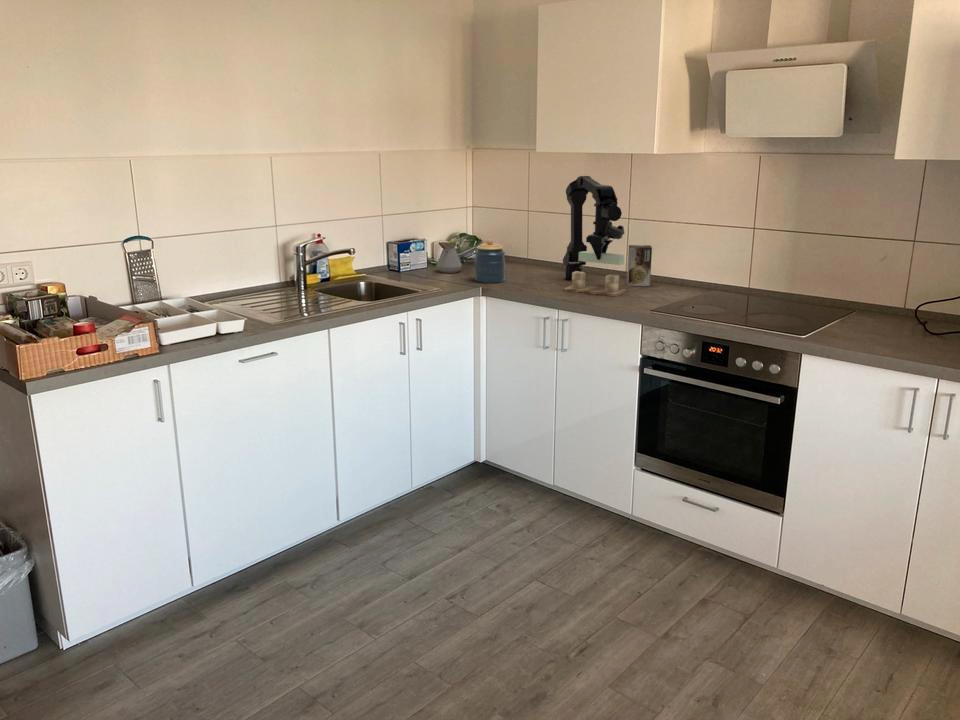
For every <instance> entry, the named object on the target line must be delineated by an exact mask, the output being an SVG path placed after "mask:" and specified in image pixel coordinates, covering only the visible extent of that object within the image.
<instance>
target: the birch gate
mask: <svg viewBox="0 0 960 720" xmlns="http://www.w3.org/2000/svg"><path fill="white" fill-rule="evenodd" d="M604 280H605V284H604V286H596V285H587V284H586V271H583V272H580V271H575V272H573V273H572V280H571V285H569V286H566V287H564V288H563V290H565V291H564V292H568V291H574V292H573V293H577V292H582V293H581V294H586V293H591V294H590V295H596V294H599V295H598V296H605V295H607V296H606V297H614V296H617V297H618V296H621V295H622V294H624V293H627V289H623V288H619V284H620V283H619V281H620V275H619V274H607V275H605V279H604Z"/></svg>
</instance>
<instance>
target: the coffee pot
mask: <svg viewBox="0 0 960 720" xmlns="http://www.w3.org/2000/svg"><path fill="white" fill-rule="evenodd" d="M437 245H439V247H440V248H442V250H441V252H440V253H441V254H440V256H439V258H438V260H437V263H436V268H437V270H438V271H439V272H440V273H443V274H454V273H455V274H456V273H458V272H459V271H460V270H461V269H462V266H463V264H462V262H461V260H460V257H459V255H458V253H457V250H456V245H457V242H438V243H437Z"/></svg>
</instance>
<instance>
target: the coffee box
mask: <svg viewBox="0 0 960 720" xmlns="http://www.w3.org/2000/svg"><path fill="white" fill-rule="evenodd" d="M627 254H628V255H627V257H628V258H627V272H626V273H627V274H626V285H627V286H628V287H650V286H651V275H652V274H651V272H652V257H653V256H652V255H653V247H652V245H650V244H649V245H647V244H641V245H640V244H629V245H628V253H627Z"/></svg>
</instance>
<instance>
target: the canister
mask: <svg viewBox="0 0 960 720" xmlns="http://www.w3.org/2000/svg"><path fill="white" fill-rule="evenodd" d="M503 249H504V246H502V245H501V244H500V243H496V242H495V243H494V240H493V239H492V238H488V239H486V242H485V243H480V244H479V245H477V246H476V251H475V252H474V255H475V259H474V281H475V282H478V283H483V284H497V283H502V282H505V278H506V274H505V271H506V268H505V267H506V259H505V255H506V252H505V251H504V250H503Z"/></svg>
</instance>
